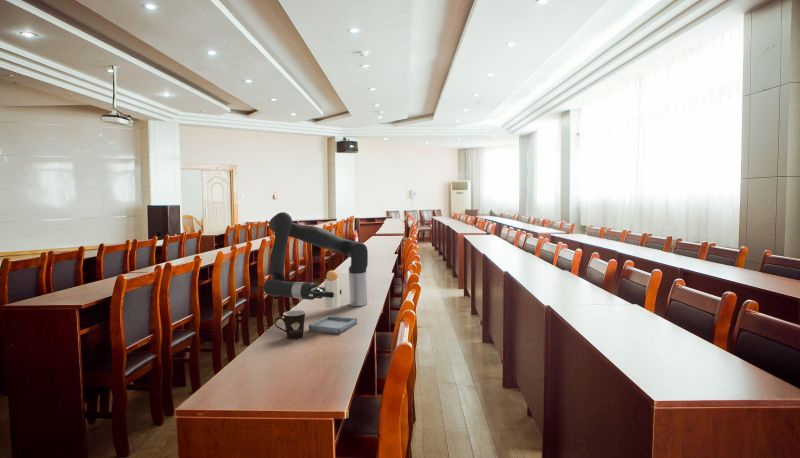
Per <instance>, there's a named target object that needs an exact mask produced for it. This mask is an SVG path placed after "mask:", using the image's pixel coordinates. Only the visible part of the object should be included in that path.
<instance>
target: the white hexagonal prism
mask: <svg viewBox="0 0 800 458" xmlns="http://www.w3.org/2000/svg"><path fill="white" fill-rule="evenodd" d="M340 282H341V281H340V278H337V280H327V278H326V279H324V286H325V293H326V292H333V293H334V297H333V298H329V297H325V298H324V306H325V308H326V309H337V308H340V307H341V296H340V295H341V294H340V289H341V288H340V287H341V284H340Z"/></svg>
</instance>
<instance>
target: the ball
mask: <svg viewBox="0 0 800 458" xmlns="http://www.w3.org/2000/svg"><path fill="white" fill-rule="evenodd" d="M325 277H326V279H327V280H337V278H338V277H339V275H338V272H337V271H335V270H328V271H327V273H326V276H325ZM338 279H339V278H338Z"/></svg>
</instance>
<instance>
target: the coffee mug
mask: <svg viewBox="0 0 800 458" xmlns="http://www.w3.org/2000/svg"><path fill="white" fill-rule="evenodd" d="M305 318H306V312H305V311H304V310H298V309H297V310H295V309H294V310H289V311H284V312H283V317H277V318H275V319H274V322H273V323H274V325H275V327H276V328H278V330H281V331H283V332H285V333H286V338H287V339H288V340H300V339H302V338H303V337H304V329H305ZM278 320H282V322H283V323H284V324H285V325H284V326H285V329H284V328H282V327H280V326H279V325H277V321H278Z"/></svg>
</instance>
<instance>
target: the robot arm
mask: <svg viewBox="0 0 800 458" xmlns="http://www.w3.org/2000/svg"><path fill="white" fill-rule="evenodd" d="M268 225H269V226H268V227H269V229H270V230H271V231H272V232H273V233H274V240H273V241H274V242H273V244H272V245H273V246H272V249H271V252H270V255H269V261H268V269H267V271H268V274H269V275H270V276H271V278H272V279H268V280H266V281H265V282H264V283H263V285H262V290H263V292H264V293H265V294H266V295H268V296H272V297H278V298H280V297H285V298H295V299H298V300H308V301H309V300H311V301H313V300H315V299H325V297H329V298H333V297H334V293H333V292H326V293H325V285H324V286H318V285H317V284H316V283H315V282H306V281H299V282H297V281H286V280H285V261H286V253H287V247H288V241H289V237H290V238H294V239H296V240H298V241H301V242H304V243H307V244H310V245H312V246H315V247H317V248H318V247H319V248H321V249H324V250H329V251H335V252H338V253H341V254H342V255H345V256H348V257H349V258H350V266H349V267H348V285H349V286H348V288H349V289H348V291H349V292H348V293H349V305H350V306H351V307H363V306H366V305H368V283H367V282H368V279H367V269H368V268H367V267H368V263H369V262H368V261H369V260H368V258H369V256H368V255H369V254H368V253H369V252H368V251H369V250H368V247H367V246H366V244H365V243H364V242H360V241H357V240H356V241H354V240H351V239H350V240H349V239H346V238H342V237H340V236H338V235H337V234H335V233H333V232H331V231H329V230H326V229H323V228H321V227H318V226H313V225H303V224H298V223H296V222H294V221H293V218H292V217H291V215H290V214H289V213H288V212H284V211H282V212H281V211H280V212H278V213H276V214H275V215H274V216H273V217H271V218H270V220H269V221H268ZM340 295H342V289H341V288H340Z"/></svg>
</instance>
